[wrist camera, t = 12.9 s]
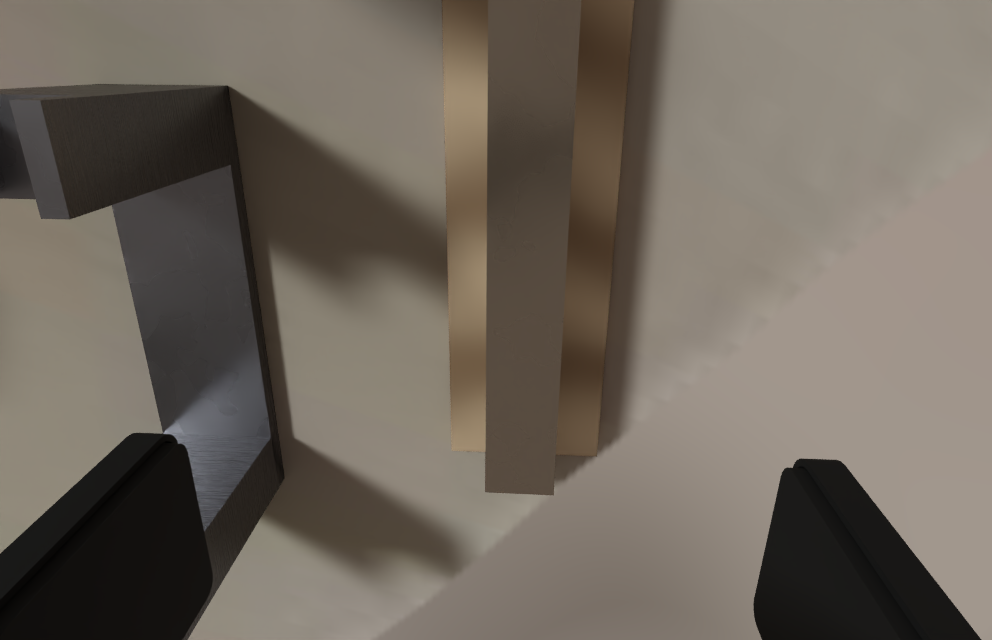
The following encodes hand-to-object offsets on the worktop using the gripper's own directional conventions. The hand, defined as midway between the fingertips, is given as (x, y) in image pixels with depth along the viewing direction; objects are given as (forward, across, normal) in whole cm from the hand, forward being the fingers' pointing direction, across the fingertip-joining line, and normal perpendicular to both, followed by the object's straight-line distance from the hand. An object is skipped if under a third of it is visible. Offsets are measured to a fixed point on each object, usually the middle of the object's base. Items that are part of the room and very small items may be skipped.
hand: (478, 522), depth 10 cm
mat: (+18, -1, 0) cm, 18 cm away
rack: (+18, +14, +4) cm, 24 cm away
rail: (+18, -1, 0) cm, 18 cm away
